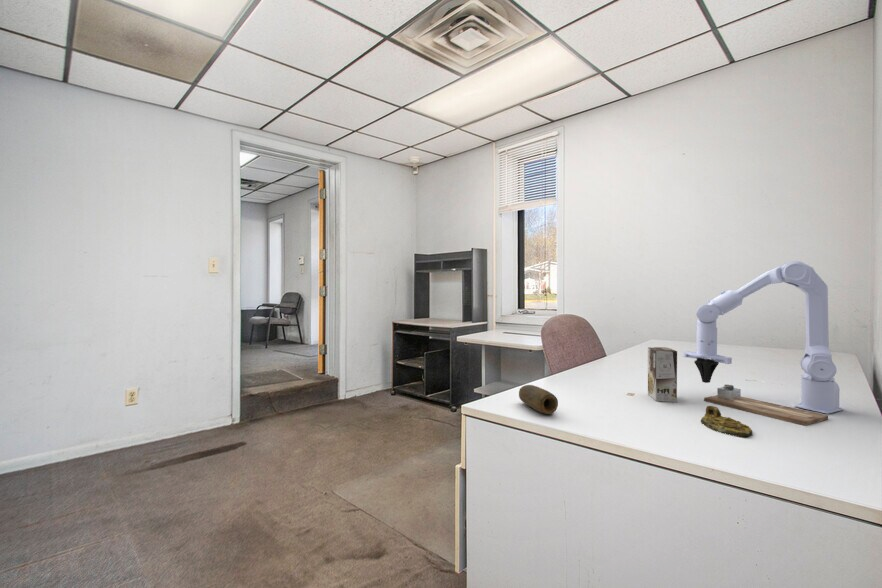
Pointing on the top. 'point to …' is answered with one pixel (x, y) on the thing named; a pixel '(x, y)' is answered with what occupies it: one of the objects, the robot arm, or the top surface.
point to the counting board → (770, 410)
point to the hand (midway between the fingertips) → (706, 382)
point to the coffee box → (662, 374)
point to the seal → (724, 423)
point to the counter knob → (729, 393)
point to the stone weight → (538, 399)
